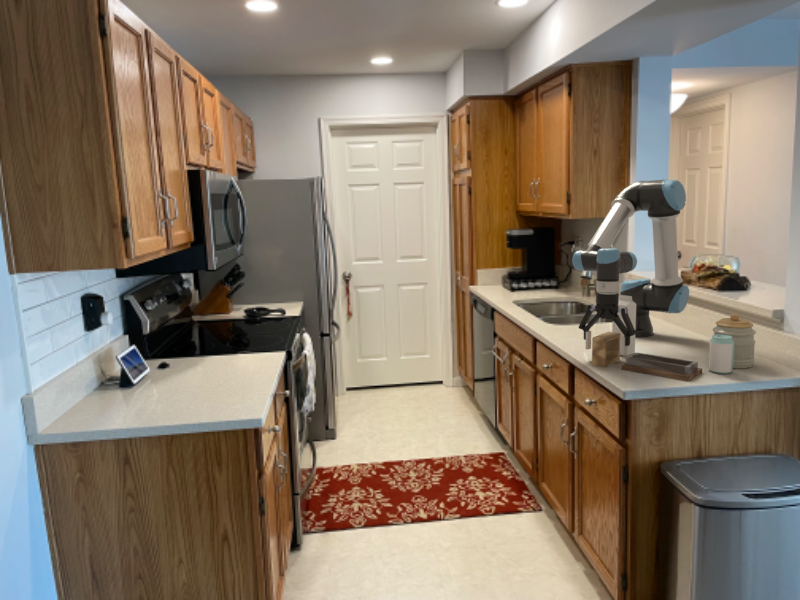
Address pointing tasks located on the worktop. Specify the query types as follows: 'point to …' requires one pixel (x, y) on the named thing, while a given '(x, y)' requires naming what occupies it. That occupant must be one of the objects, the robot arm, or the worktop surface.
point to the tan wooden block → (605, 349)
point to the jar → (738, 339)
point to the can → (721, 354)
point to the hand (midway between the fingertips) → (605, 351)
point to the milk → (631, 307)
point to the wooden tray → (662, 366)
